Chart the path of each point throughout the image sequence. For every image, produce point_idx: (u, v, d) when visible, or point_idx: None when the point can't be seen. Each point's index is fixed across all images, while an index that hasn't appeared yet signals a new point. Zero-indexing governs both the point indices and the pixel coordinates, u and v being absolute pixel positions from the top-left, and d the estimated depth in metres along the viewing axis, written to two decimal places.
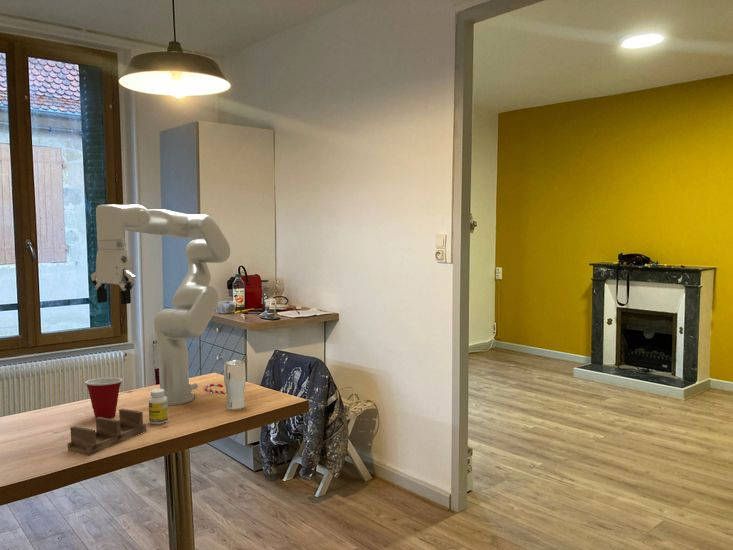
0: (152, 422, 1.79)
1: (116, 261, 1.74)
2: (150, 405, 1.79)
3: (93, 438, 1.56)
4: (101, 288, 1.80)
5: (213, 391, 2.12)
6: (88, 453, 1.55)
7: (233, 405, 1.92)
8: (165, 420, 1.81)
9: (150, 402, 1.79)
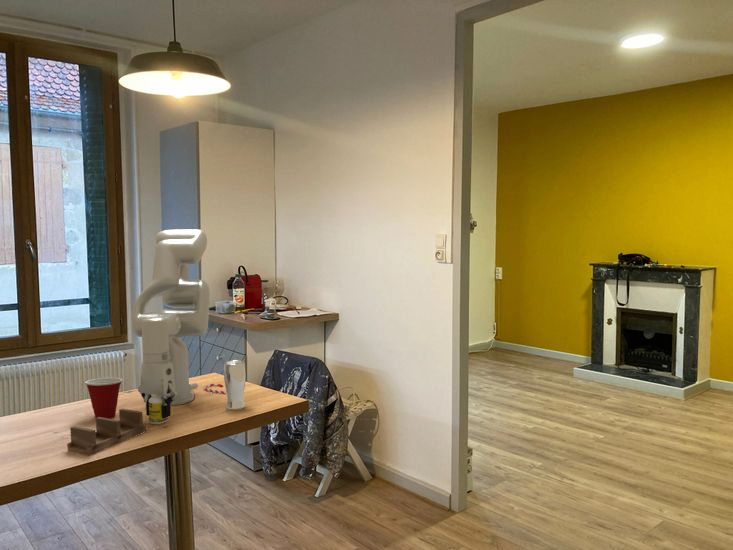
0: (152, 422, 1.79)
1: (161, 374, 1.77)
2: (150, 405, 1.79)
3: (93, 438, 1.56)
4: None
5: (213, 391, 2.12)
6: (88, 453, 1.55)
7: (233, 405, 1.92)
8: (165, 420, 1.81)
9: (150, 402, 1.79)
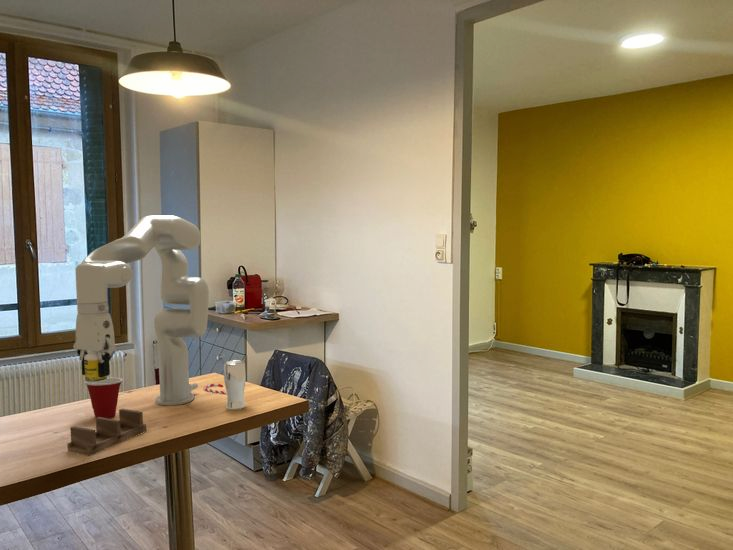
0: (88, 381, 1.59)
1: (97, 327, 1.56)
2: (85, 362, 1.59)
3: (93, 438, 1.56)
4: None
5: (213, 391, 2.12)
6: (88, 453, 1.55)
7: (233, 405, 1.92)
8: (103, 379, 1.60)
9: (85, 359, 1.59)
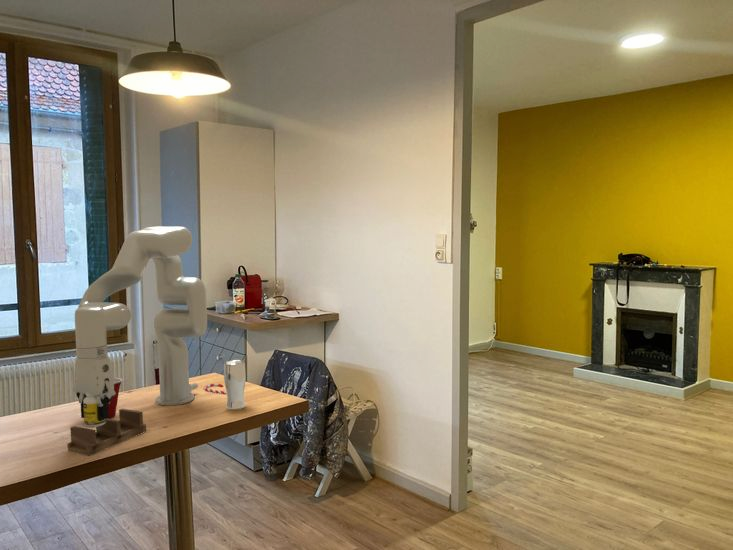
0: (87, 425, 1.59)
1: (96, 371, 1.57)
2: (84, 406, 1.59)
3: (93, 438, 1.56)
4: None
5: (213, 391, 2.12)
6: (88, 453, 1.55)
7: (233, 405, 1.92)
8: (102, 423, 1.60)
9: (84, 402, 1.59)
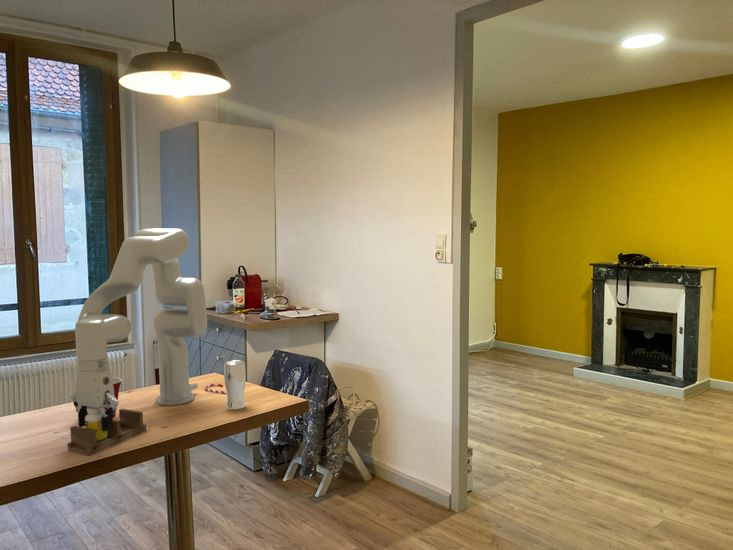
0: None
1: (97, 384, 1.57)
2: (86, 423, 1.59)
3: (93, 438, 1.56)
4: (83, 410, 1.63)
5: (213, 391, 2.12)
6: (88, 453, 1.55)
7: (233, 405, 1.92)
8: None
9: (86, 420, 1.59)
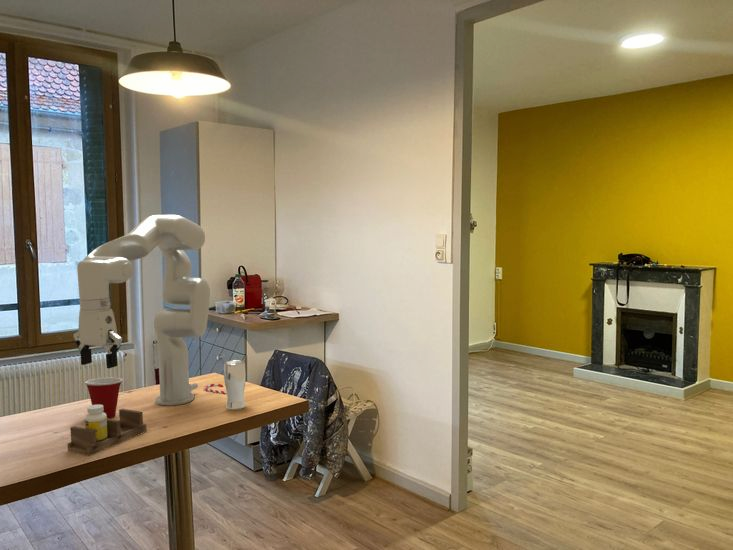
0: None
1: (100, 322, 1.60)
2: (86, 423, 1.60)
3: (93, 438, 1.56)
4: (85, 349, 1.66)
5: (213, 391, 2.12)
6: (88, 453, 1.55)
7: (233, 405, 1.92)
8: None
9: (86, 420, 1.59)
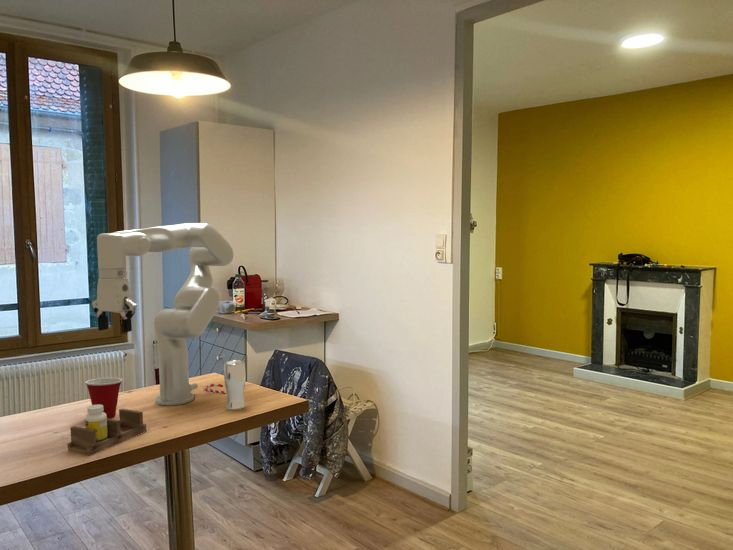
0: None
1: (117, 290, 1.75)
2: (86, 423, 1.60)
3: (93, 438, 1.56)
4: (102, 316, 1.81)
5: (213, 391, 2.12)
6: (88, 453, 1.55)
7: (233, 405, 1.92)
8: None
9: (86, 420, 1.59)
